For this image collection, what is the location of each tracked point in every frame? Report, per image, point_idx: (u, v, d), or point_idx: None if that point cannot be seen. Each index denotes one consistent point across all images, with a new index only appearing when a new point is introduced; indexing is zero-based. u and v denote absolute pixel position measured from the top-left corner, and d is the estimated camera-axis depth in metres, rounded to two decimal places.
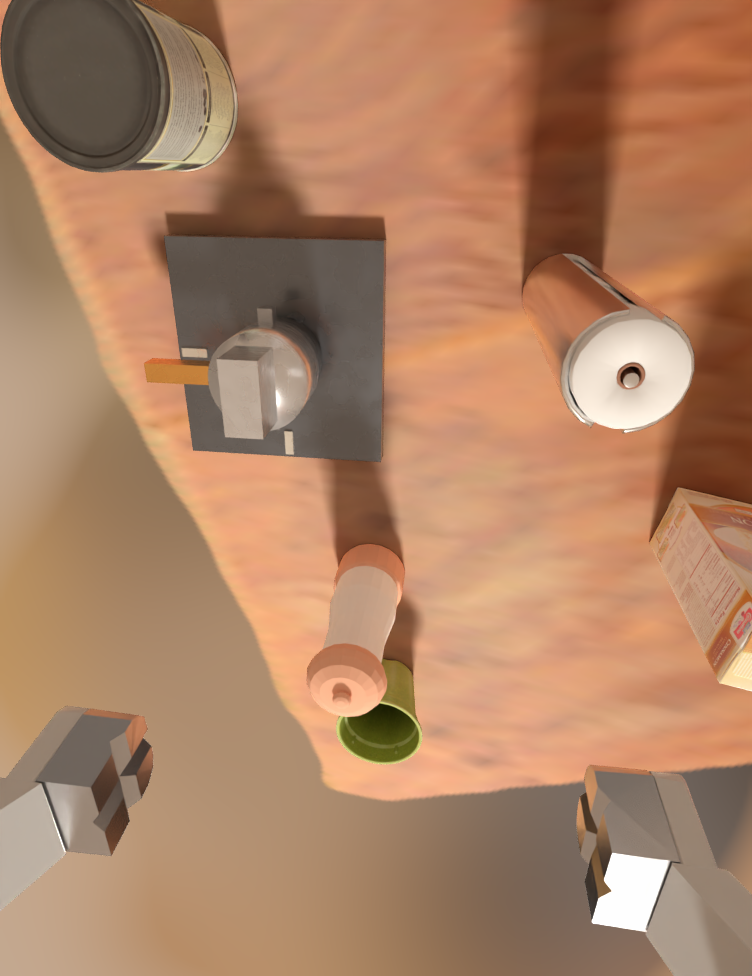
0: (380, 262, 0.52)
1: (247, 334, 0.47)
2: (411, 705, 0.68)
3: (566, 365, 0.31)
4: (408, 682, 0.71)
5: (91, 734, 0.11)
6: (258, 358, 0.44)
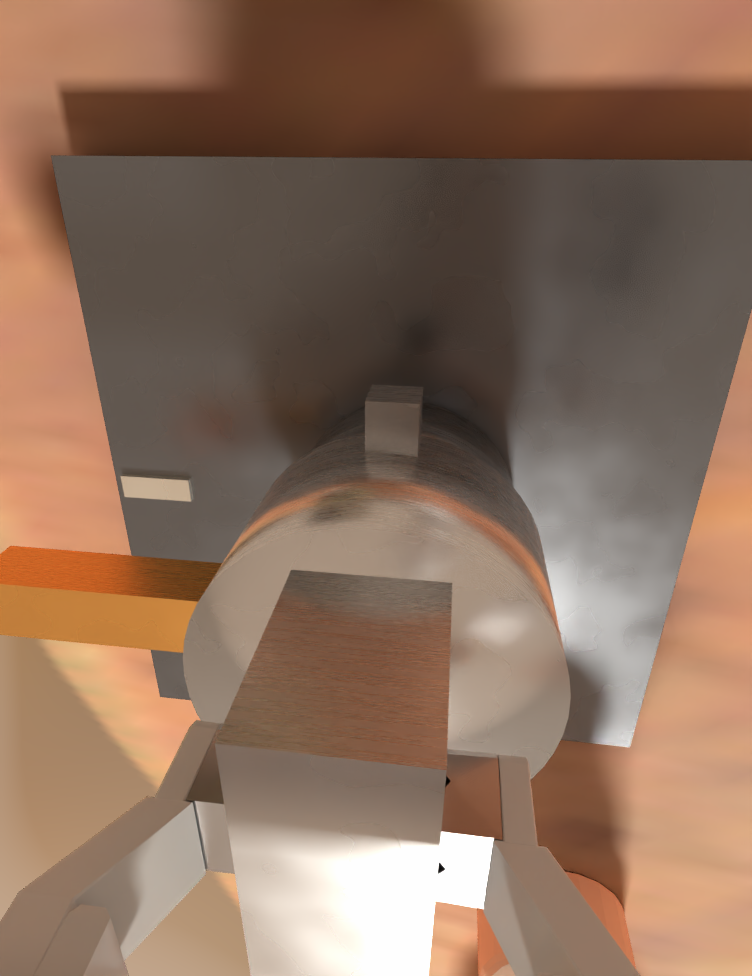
0: None
1: (347, 532, 0.11)
2: None
3: None
4: None
5: None
6: (439, 725, 0.08)
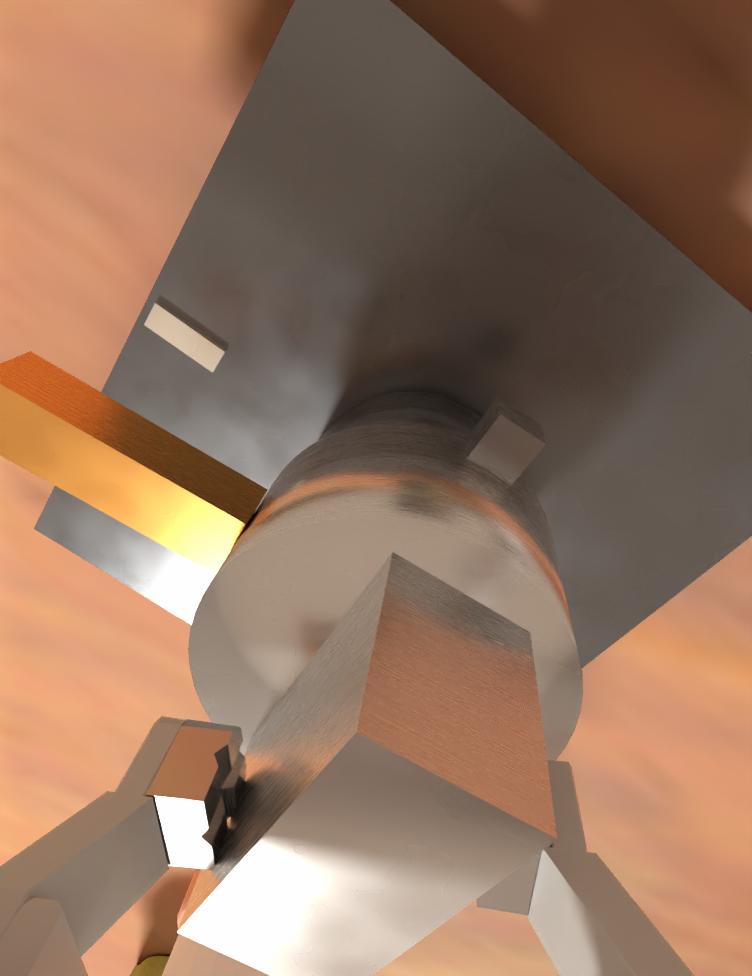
0: None
1: (472, 547, 0.11)
2: None
3: None
4: None
5: (193, 746, 0.10)
6: (544, 787, 0.08)
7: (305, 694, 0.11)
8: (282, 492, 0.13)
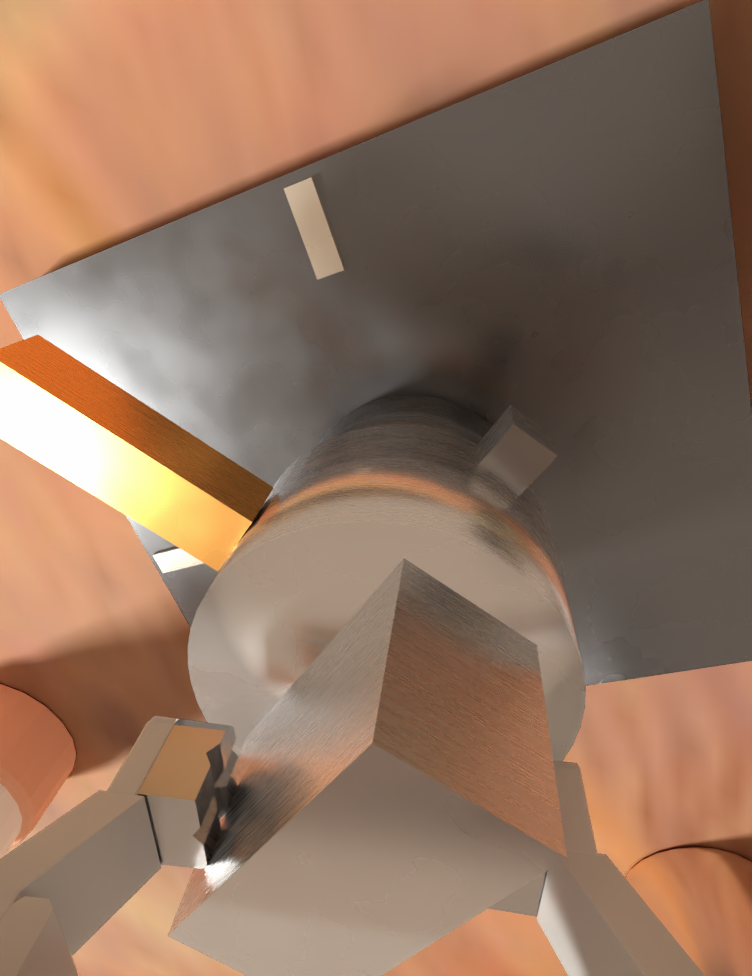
0: (721, 659, 0.21)
1: (484, 557, 0.11)
2: None
3: None
4: None
5: (186, 745, 0.11)
6: (553, 804, 0.08)
7: (308, 698, 0.11)
8: (290, 491, 0.13)
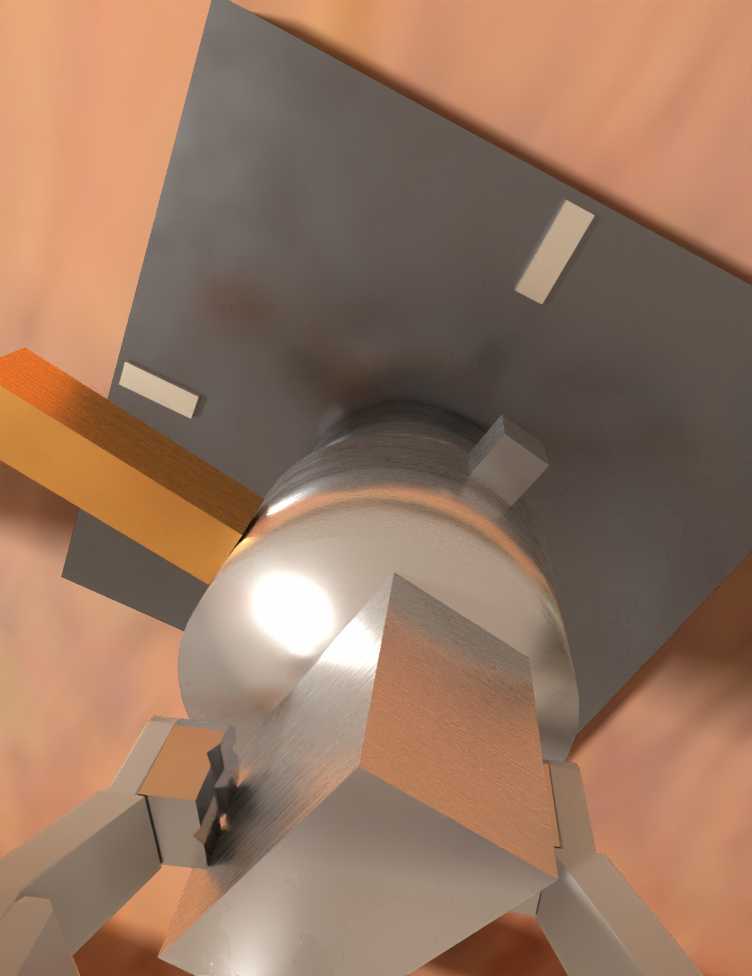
0: None
1: (475, 570, 0.11)
2: None
3: None
4: None
5: (186, 745, 0.11)
6: (544, 824, 0.08)
7: (298, 714, 0.11)
8: (280, 503, 0.13)
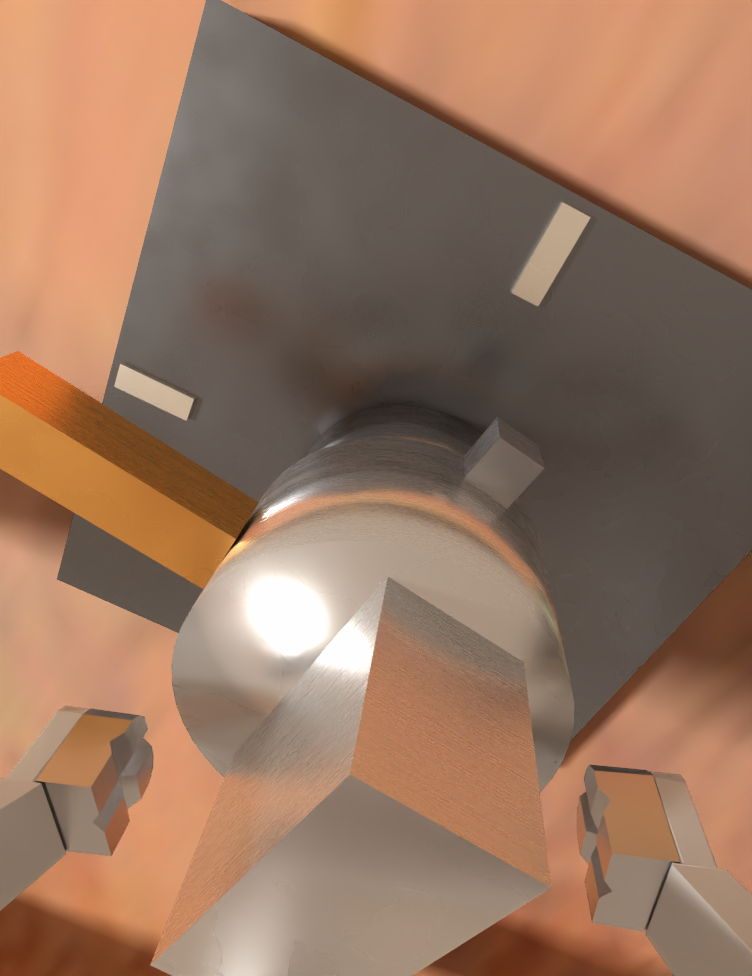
0: None
1: (469, 575, 0.11)
2: None
3: None
4: None
5: (91, 734, 0.11)
6: (537, 831, 0.08)
7: (292, 719, 0.11)
8: (274, 507, 0.13)
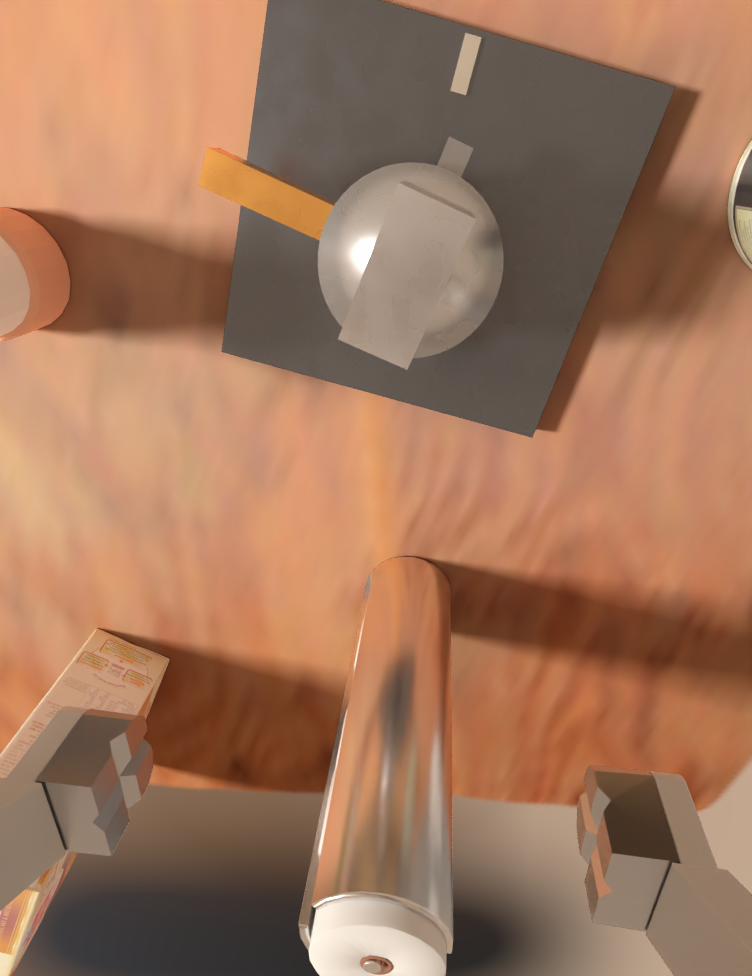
0: (507, 426, 0.38)
1: (439, 169, 0.25)
2: None
3: (401, 903, 0.24)
4: None
5: (91, 734, 0.11)
6: (472, 216, 0.22)
7: None
8: None
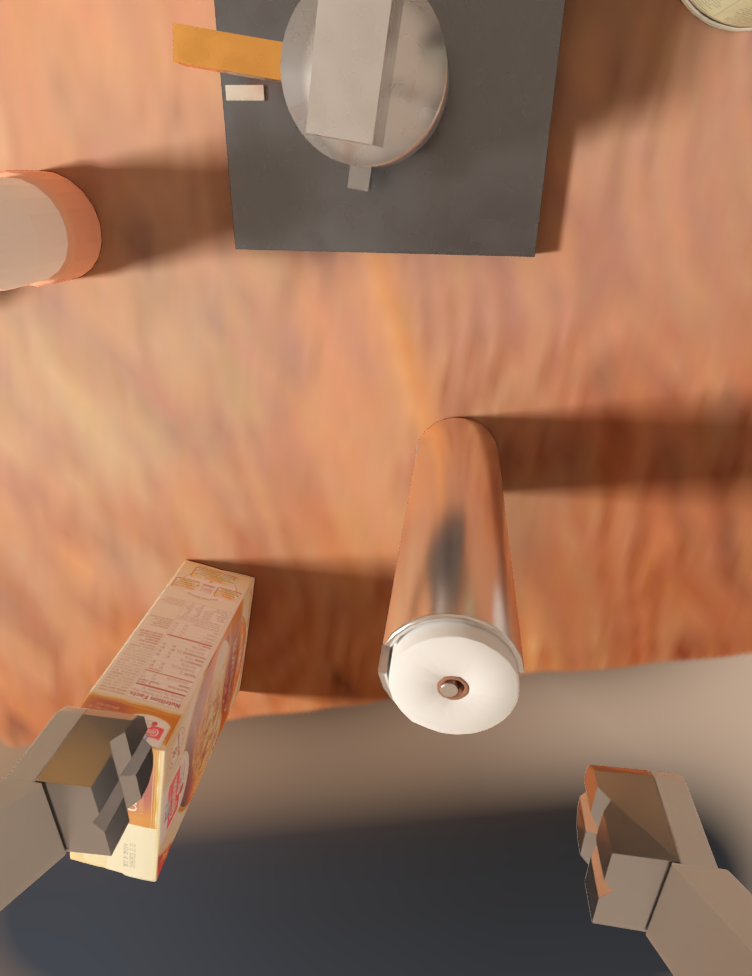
0: (508, 251, 0.40)
1: None
2: None
3: (461, 619, 0.26)
4: None
5: (91, 734, 0.11)
6: None
7: None
8: None
